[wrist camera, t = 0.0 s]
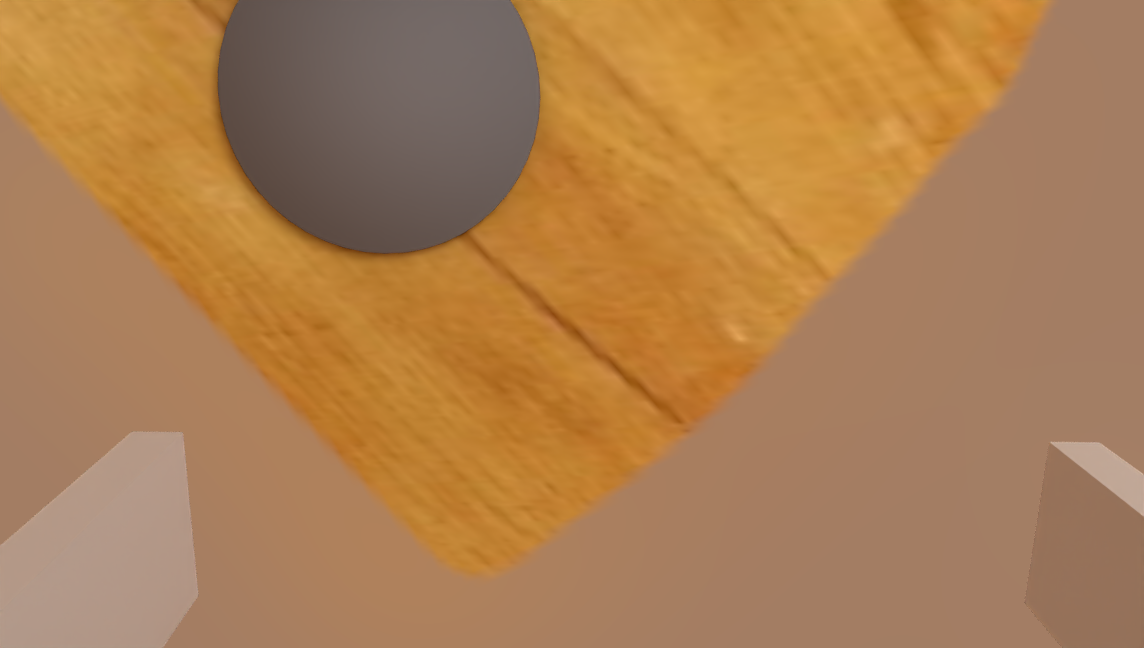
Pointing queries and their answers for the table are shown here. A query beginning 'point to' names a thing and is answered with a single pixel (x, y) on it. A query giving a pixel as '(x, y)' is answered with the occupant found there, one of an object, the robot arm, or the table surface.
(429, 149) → the mat
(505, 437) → the table surface
